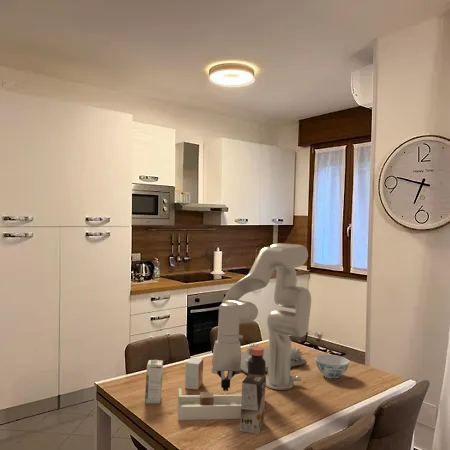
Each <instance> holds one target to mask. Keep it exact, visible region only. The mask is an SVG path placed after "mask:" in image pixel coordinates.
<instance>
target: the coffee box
mask: <svg viewBox="0 0 450 450" xmlns="http://www.w3.org/2000/svg"><path fill="white" fill-rule="evenodd" d="M266 378H267V376H266V375H265V376H262V375H255V374H254V375H253V374H247V376H246V377H245V378H244V379H243V380H242V382H241V383H242V385H241V395H242V402H241V419H240V428H239V430H240V431H241V432H245V433H250V434H257V435H258V434H259V433H260V431H261V429H262V427H263V425H264V423H265V412H266V411H265V409H266V408H265V406H266V388H267V386H266Z"/></svg>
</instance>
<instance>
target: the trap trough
mask: <svg viewBox="0 0 450 450" xmlns="http://www.w3.org/2000/svg"><path fill="white" fill-rule="evenodd" d="M177 390H178V392H177V393H178V394H177V420H178V421H189V420H190V421H191V420H192V421H193V420H198V421H199V420H234V419H235V420H237V419H240V420H241V402H242V394H213V396H214V404H213V405H200V394H195V395H194V394H193V395H187V394H186V395H183V393H182V388H181V387H178V389H177Z"/></svg>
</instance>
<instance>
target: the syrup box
mask: <svg viewBox="0 0 450 450" xmlns="http://www.w3.org/2000/svg"><path fill="white" fill-rule="evenodd" d="M163 365H164V360H161V359H160V360H159V359H149V360H148V362H147V365H146V374H145V375H146V377H145V395H144V403H145V404H161V400H162V394H163V393H162V391H163V388H162V387H163V367H164V366H163Z"/></svg>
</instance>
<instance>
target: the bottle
mask: <svg viewBox="0 0 450 450" xmlns="http://www.w3.org/2000/svg"><path fill="white" fill-rule="evenodd" d="M264 349H265V348H263V347H261V346H258V347H252V348H251V356H252V357H251V358H250V359H249V360H248V374H253V375H254V374H255V375H262V376H266V372H265V366H266V362H265V360H264V359H263V354H264ZM248 374H247V375H248Z"/></svg>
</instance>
